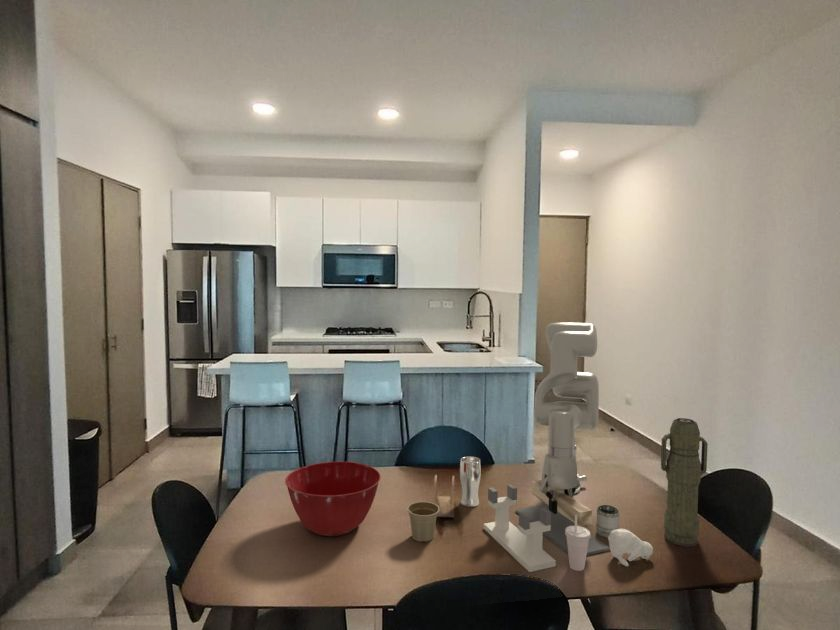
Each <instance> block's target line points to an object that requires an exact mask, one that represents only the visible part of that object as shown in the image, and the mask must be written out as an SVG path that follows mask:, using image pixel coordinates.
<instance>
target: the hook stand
mask: <svg viewBox="0 0 840 630" xmlns="http://www.w3.org/2000/svg"><path fill="white" fill-rule="evenodd" d="M506 486H507V489H506V494H507V495H506V496H500V497H498V496H499V493H498V492H499V491H498V490H497V489H495V488H494V487H493V486H492V487H491V486H490V487H488V489H487V505H488V506H489V507H491V509H493V510H494V509H495V512H494V513H495V514H494V515H495V516H494V520H495V521H491V522H487V523H485V522H484V523H483V529H484V531H486V532H487V534H489V535H490V536H491V537H492V538H493V539H494V540H495V541H496V542H497V543H498V544H499V545H500V546H502V548H503V549H504V550H506V551H507V552H508V553H509V554H510V556H512V557H513V558H514V559H515V560H516V561H517V562H518V563H519V564H520V565H521V566H522V567H524V568H525V569H526V570H527V571H528V573H532V572H537V571H541V570H544V569H550V568H555V567H556V566H557V563H556V562H557V561H556V560H555V559H554V558H553V556H551V555H550V554H549V553H548V552H546V551H545V550H544V549H543V542H544V541H543V538H544V537H543V535H544V534H543V532H545V531H550V530H551V512H550V511H549V510H547V509H546V508H545V507H544V508H540V521H536V522H531V523H530V516H529V515H528V514H527V513H525V512H524V511H522V512H519V514H518V527H517V526H515V525H514V524H513V523H512V522H511V521H510V506H516V505H517V504H518V487H517V486H515V485H514V484H512V483H511V484H507V485H506Z"/></svg>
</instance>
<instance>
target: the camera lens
mask: <svg viewBox="0 0 840 630" xmlns="http://www.w3.org/2000/svg"><path fill="white" fill-rule="evenodd" d="M595 524H596V526H595V527H596V534H598V535H599V536H601V537H603V538H606V539H608V537H609V535H610V533H611V531H612V530H616V529H620V511H619V509H618V508H617V507H615V506H612V505H608V504H601V505H599V506H598V507H597V508H596V523H595Z"/></svg>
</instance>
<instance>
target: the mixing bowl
mask: <svg viewBox="0 0 840 630" xmlns="http://www.w3.org/2000/svg"><path fill="white" fill-rule="evenodd" d="M381 476H382V475H381V473H380V472H379V471H378V470H377V469H376V468H374V467H372V466H370V465H368V464H363V463H359V462H355V461H354V462H352V461H327V462H326V461H325V462H318V463H313V464H309V465H305V466H302V467H300V468H297V469H295V470H293V471H291V472H290V473H288V475H287V476H286V477H285V480H284V484H285V486H286V488H287V492H288V495H289V498H290V501H291V504H292V506H293V510H294V511H295V513H296V515H297V517H298V519H299V520H300V522H301V524H303V526H304V527H305V528H306V529H308V530H309V531H310V532H312V533H315V534H317V535H318V536H324V537H338V536H343V535H345V534H348V533H350V532H352V531H353V530H355V529H356V528H358V527H359V526H360V525H361V524H362V523H363V522H364V520H365V519H366V517H367V515H368V514H369V511H370V509H371V507H372V505H373V504H374V503H373V502H374V499H375V497H376V494H377V491H378V486H379V483H380V481H381Z"/></svg>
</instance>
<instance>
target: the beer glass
mask: <svg viewBox="0 0 840 630" xmlns="http://www.w3.org/2000/svg"><path fill="white" fill-rule="evenodd" d="M481 468H482V467H481V458H479V457H476V456H471V455H470V456H464V457H463V456H462V457H461V458H460V464H459V479H460V480H459V481H460V485H461V493H462V494H461V499H460V504H461V505H462V506H463V507H468V508H473V507H475V508H476V507H478V506H479V504H480V500H479V487H480V483H481V476H482V473H481V472H482V471H481V470H482V469H481Z"/></svg>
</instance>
